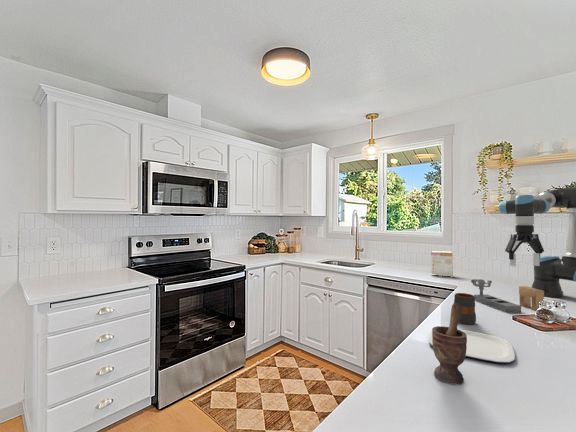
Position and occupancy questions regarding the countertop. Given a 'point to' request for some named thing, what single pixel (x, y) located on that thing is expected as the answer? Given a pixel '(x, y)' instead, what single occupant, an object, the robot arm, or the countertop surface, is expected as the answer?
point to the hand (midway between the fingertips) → (524, 265)
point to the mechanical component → (481, 284)
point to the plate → (487, 347)
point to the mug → (466, 308)
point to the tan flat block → (526, 297)
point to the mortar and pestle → (450, 348)
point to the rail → (498, 303)
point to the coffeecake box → (442, 263)
